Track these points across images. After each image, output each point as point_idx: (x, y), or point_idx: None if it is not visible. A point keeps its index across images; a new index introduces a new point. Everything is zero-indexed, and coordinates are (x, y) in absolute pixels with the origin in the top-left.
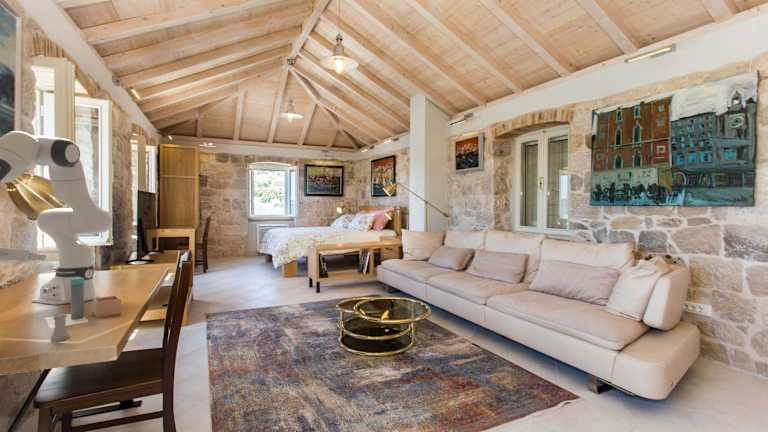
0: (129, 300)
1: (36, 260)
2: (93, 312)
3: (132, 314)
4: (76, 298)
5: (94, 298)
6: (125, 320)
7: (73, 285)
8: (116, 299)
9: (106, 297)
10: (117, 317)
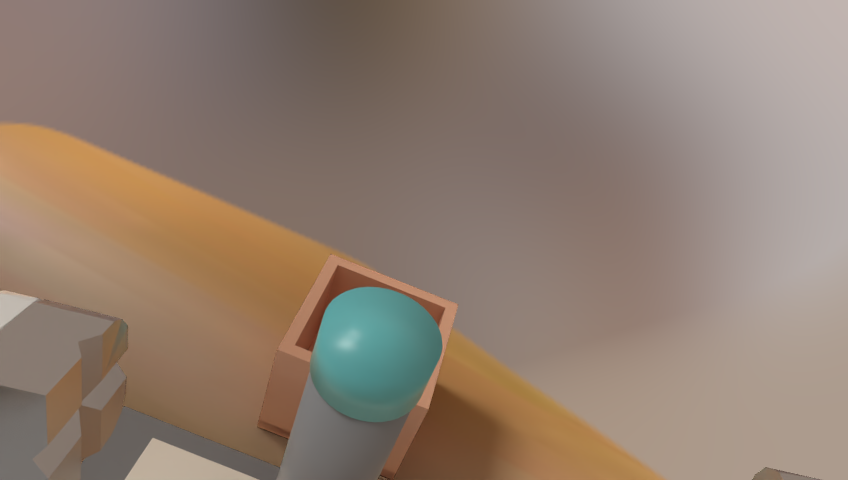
0: (136, 171)
1: (100, 441)
2: (275, 421)
3: (466, 348)
4: (377, 477)
5: (283, 344)
6: (564, 434)
7: (396, 416)
8: (452, 320)
9: (320, 299)
10: (463, 412)
